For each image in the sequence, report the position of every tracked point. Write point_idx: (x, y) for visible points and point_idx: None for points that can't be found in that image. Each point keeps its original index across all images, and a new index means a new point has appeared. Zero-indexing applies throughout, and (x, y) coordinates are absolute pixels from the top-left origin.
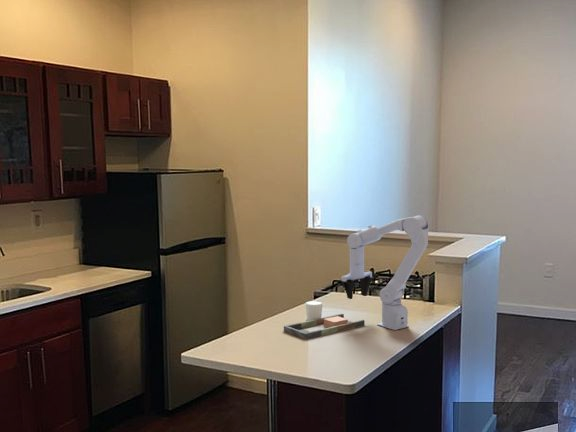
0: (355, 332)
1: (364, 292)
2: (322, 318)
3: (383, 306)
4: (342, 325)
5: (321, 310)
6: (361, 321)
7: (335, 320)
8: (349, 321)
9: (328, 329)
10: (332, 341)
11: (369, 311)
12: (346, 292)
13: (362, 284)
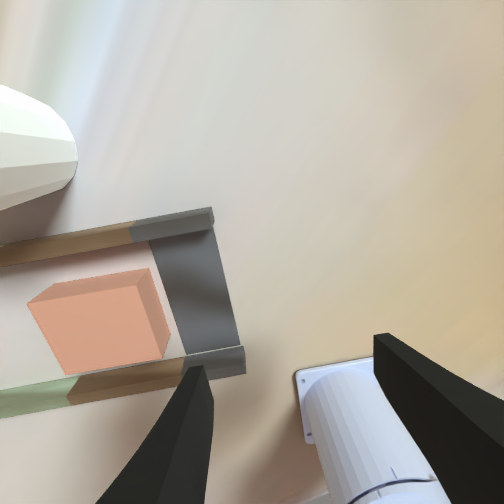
0: (158, 411)
1: (393, 391)
2: (38, 256)
3: (333, 496)
4: (104, 399)
5: (26, 194)
6: (225, 376)
7: (86, 353)
8: (217, 277)
9: (21, 411)
10: (26, 459)
11: (451, 142)
12: (163, 418)
13: (472, 454)
